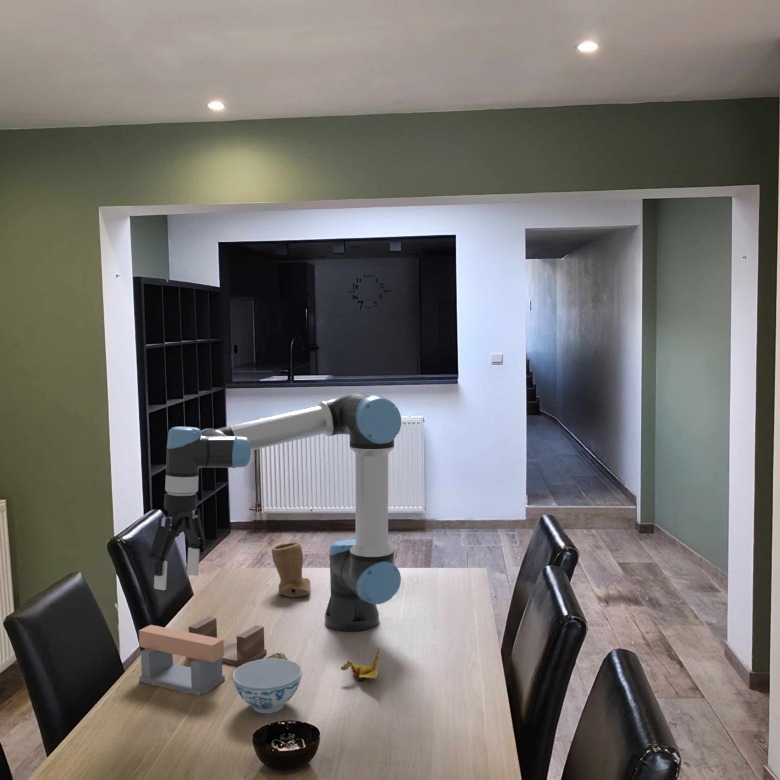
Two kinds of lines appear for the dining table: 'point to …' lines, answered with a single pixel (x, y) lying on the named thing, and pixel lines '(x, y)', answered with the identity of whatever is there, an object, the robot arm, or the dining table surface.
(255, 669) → the chinaware
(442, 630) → the dining table surface
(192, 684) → the stand
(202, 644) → the salmon pink square bar
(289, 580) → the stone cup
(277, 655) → the mineral rock
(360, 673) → the origami crane
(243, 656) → the bronze cradle base
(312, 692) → the dining table surface
